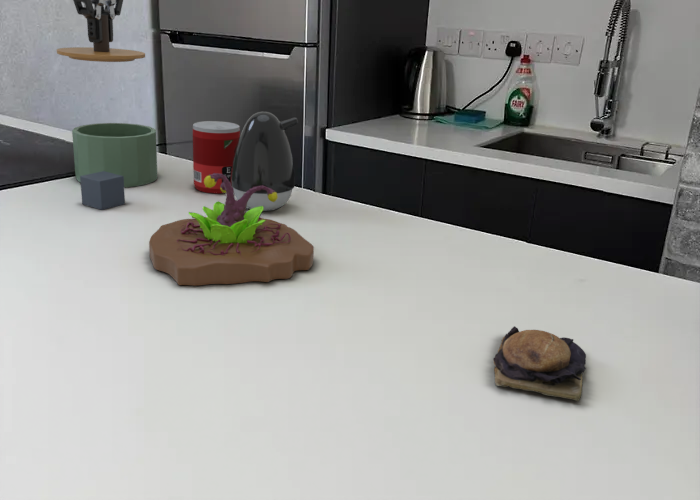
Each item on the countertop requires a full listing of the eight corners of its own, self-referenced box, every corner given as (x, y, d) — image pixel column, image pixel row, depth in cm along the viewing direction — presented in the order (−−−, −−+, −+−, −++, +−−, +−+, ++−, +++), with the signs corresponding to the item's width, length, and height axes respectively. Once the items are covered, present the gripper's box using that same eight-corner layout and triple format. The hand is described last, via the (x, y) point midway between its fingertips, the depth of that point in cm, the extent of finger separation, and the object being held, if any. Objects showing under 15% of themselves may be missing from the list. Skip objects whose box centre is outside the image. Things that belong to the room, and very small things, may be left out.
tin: (89, 190, 112) (85, 139, 109) (67, 172, 122) (63, 124, 119) (168, 183, 120) (167, 134, 117) (141, 166, 130) (139, 121, 127)
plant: (135, 239, 92) (131, 157, 88) (271, 226, 101) (273, 151, 97) (170, 296, 75) (168, 199, 72) (329, 275, 84) (334, 187, 80)
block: (101, 210, 103) (99, 181, 101) (81, 204, 105) (79, 175, 104) (125, 204, 107) (123, 176, 105) (105, 198, 109) (103, 170, 107)
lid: (69, 62, 109) (66, 15, 106) (47, 53, 120) (44, 10, 117) (157, 63, 117) (156, 19, 114) (129, 54, 128) (128, 14, 125)
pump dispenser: (300, 215, 107) (304, 118, 102) (233, 216, 104) (233, 116, 99) (289, 197, 116) (292, 107, 111) (227, 198, 113) (227, 105, 108)
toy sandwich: (584, 407, 60) (592, 370, 58) (487, 386, 62) (493, 350, 60) (583, 352, 69) (590, 320, 68) (499, 336, 71) (504, 304, 70)
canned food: (231, 196, 115) (231, 130, 111) (186, 191, 116) (184, 126, 112) (245, 185, 122) (246, 123, 118) (203, 180, 123) (202, 119, 119)
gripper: (100, -65, 119) (105, 39, 124) (47, -75, 106) (55, 41, 112) (138, -63, 117) (142, 42, 123) (89, -72, 104) (96, 45, 110)
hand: (101, 41), depth 117 cm, fingers closed on lid, 2 cm apart
